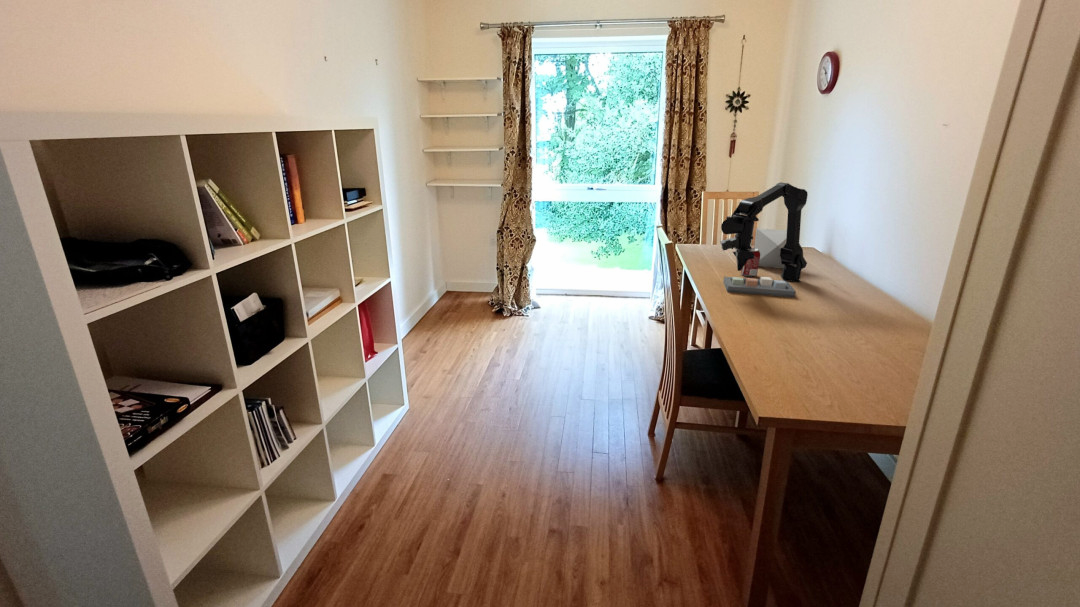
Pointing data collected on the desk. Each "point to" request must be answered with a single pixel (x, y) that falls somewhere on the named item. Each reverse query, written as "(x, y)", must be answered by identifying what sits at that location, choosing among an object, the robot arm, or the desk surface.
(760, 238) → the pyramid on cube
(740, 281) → the key sage
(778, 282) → the key slate
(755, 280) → the key terracotta
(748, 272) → the soda can
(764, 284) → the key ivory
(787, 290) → the keypad board
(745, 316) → the desk surface
